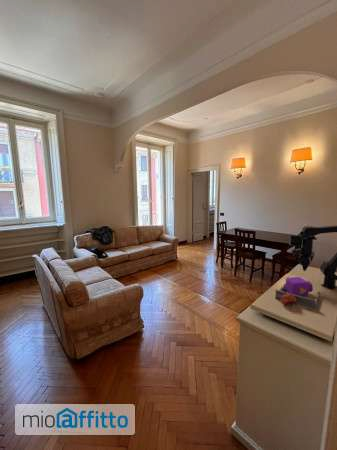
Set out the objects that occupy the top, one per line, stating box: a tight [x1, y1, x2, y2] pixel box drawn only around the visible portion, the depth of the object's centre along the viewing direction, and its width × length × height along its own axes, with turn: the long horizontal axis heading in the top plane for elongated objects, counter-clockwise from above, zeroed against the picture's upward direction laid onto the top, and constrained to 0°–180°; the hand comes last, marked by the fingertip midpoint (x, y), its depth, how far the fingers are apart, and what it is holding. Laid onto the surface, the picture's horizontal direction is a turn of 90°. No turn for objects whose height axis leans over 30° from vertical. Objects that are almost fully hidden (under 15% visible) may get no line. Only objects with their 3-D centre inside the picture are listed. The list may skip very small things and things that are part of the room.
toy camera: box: [285, 276, 314, 298], centre depth 123 cm, size 11×14×10 cm
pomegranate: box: [280, 291, 297, 310], centre depth 111 cm, size 7×7×10 cm
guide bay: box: [275, 282, 321, 311], centre depth 120 cm, size 20×19×5 cm
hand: (305, 268), depth 134 cm, fingers open, 9 cm apart
